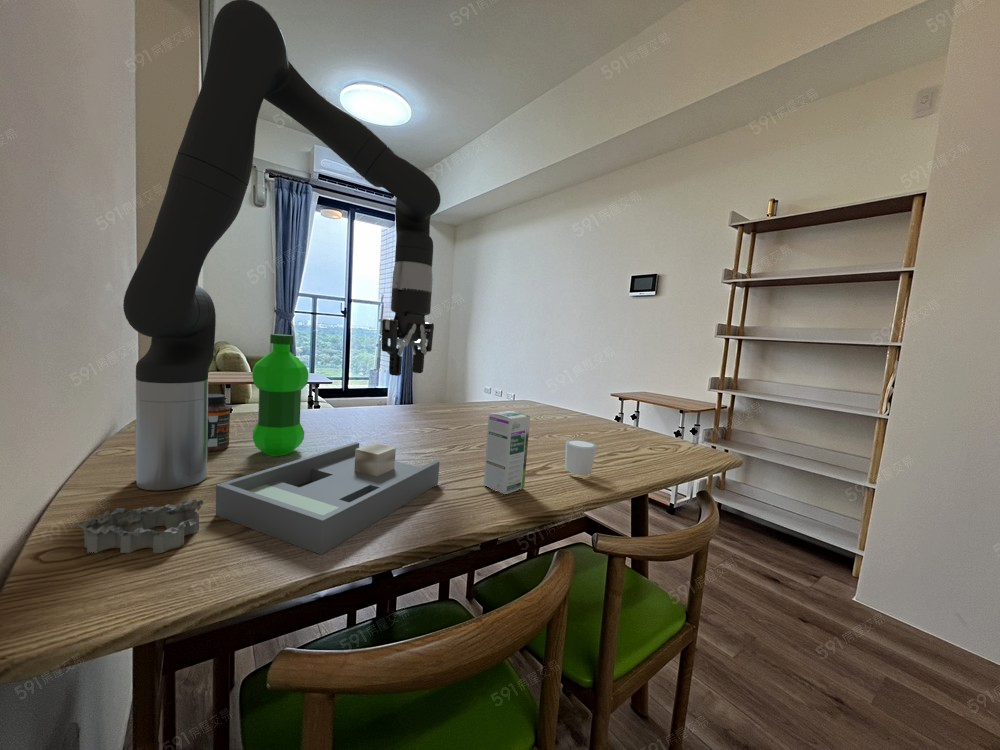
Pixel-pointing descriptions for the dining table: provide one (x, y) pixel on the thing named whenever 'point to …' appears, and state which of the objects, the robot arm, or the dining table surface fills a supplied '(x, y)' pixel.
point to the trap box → (320, 497)
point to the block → (374, 459)
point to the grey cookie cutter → (142, 527)
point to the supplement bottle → (218, 422)
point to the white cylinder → (579, 456)
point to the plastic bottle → (279, 398)
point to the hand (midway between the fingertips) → (406, 373)
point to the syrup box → (506, 451)
